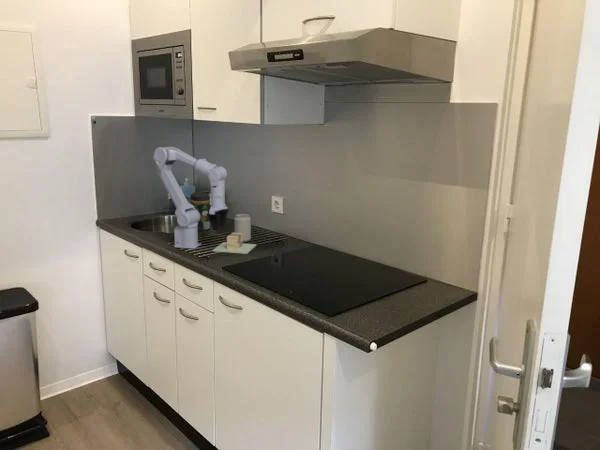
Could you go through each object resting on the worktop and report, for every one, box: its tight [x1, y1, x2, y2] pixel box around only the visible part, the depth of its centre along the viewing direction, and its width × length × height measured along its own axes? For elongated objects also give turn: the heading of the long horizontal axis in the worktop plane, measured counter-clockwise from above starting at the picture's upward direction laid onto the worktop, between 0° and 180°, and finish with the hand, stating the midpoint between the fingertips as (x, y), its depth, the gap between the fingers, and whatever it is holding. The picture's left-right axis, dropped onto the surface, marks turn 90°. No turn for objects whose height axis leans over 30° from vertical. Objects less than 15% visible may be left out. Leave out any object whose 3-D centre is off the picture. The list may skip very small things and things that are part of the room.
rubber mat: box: [212, 241, 257, 255], centre depth 209 cm, size 15×14×1 cm
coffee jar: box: [189, 191, 211, 232], centre depth 241 cm, size 10×8×19 cm
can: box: [233, 213, 252, 243], centre depth 221 cm, size 8×8×12 cm
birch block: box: [226, 232, 244, 250], centre depth 208 cm, size 8×4×6 cm, turn 169°
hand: (218, 228), depth 204 cm, fingers open, 7 cm apart
